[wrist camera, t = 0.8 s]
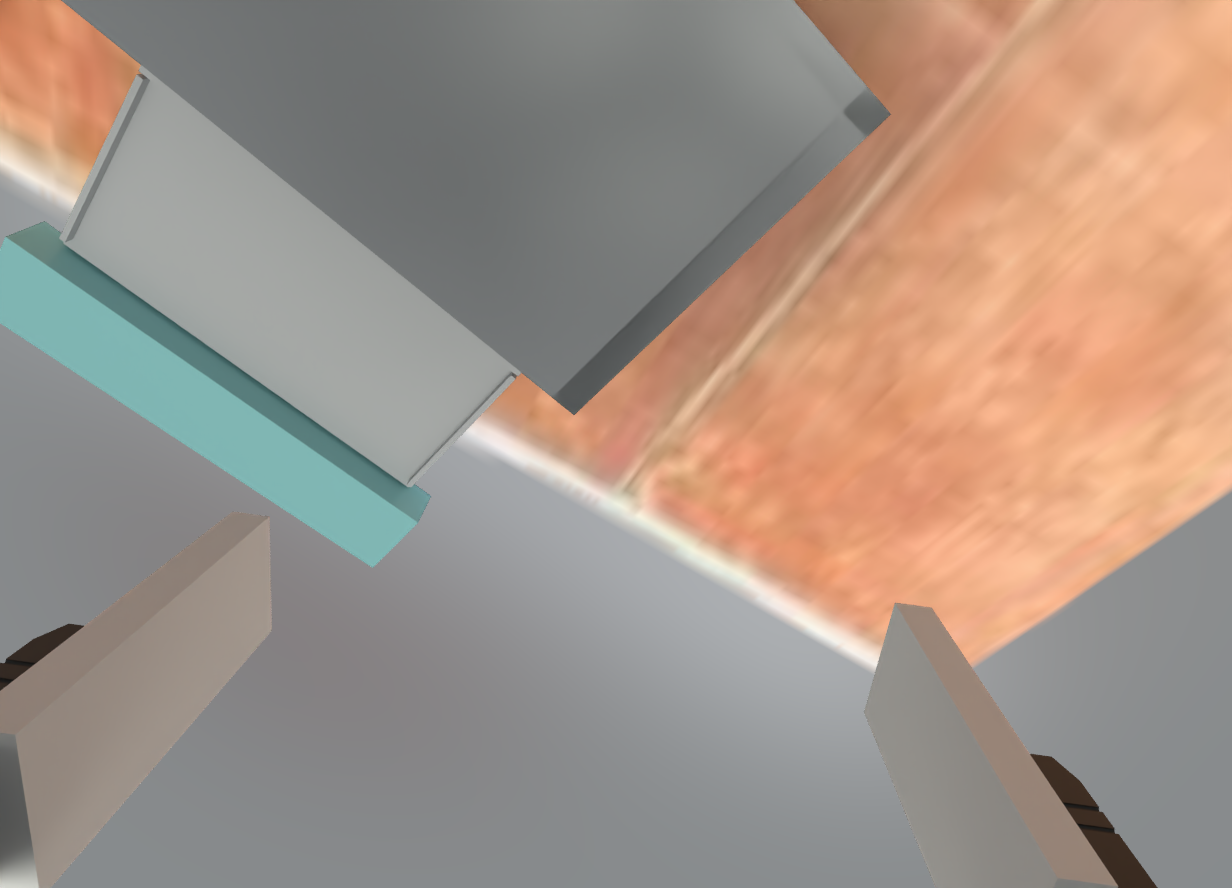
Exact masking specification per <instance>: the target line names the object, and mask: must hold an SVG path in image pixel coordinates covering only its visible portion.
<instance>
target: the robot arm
mask: <svg viewBox="0 0 1232 888" xmlns="http://www.w3.org/2000/svg"><path fill="white" fill-rule="evenodd" d="M270 574H271V573H270V525H269V517H268V516H261V515H253V514H246V513H239V512H232V513H230V514H229V515H228V516H227V517H225V518H224V519H223V520H221V521H220V522H219V523H218V524H216V525H215V526H214V527H213V528H211V529H210V530H208V531H207V532H206V533H205V534H203V535H202V536H201V537H199V538H198V539H197V540H195V541H194V542H193V543H192V544H190V545H189V546H188V547H186V548H185V549H184V550H182V551H181V552H180V553H179V554H177V555H176V556H175V557H173V558H172V559H171V560H169V561H168V562H167V563H166V564H164V565H163V566H162V567H160V568H159V569H158V570H157V571H155V572H154V573H153V574H151V575H150V576H149V577H147V578H146V579H145V580H144V581H142V582H141V583H140V584H138V585H137V586H136V587H134V588H133V589H132V590H131V591H129V592H128V593H127V594H125V595H124V596H123V597H122V598H120V599H119V600H118V601H116V602H115V603H114V604H113V605H111V606H110V607H109V608H107V609H106V610H105V611H103V612H102V613H101V614H99V615H98V616H97V617H96V618H94V619H93V620H92V621H90V622H89V623H88V624H87V625H85V626H81V625H74V624H67V625H65V626H63V627H60V628H58V629H56V630H53V631H51V632H49V633H47V634H44V635H42V636H40V637H37V638H35V639H33V640H32V641H30V642H29V643H28V644H26V645H25V646H24V647H22V648H21V649H19V650H18V651H16V652H15V653H14V654H12V655H11V656H10V657H8V658H7V659H6V662H5V663H0V888H51V887H52V885H53V884H54V883H55V882H56V881H57V880H58V879H59V877H60V876H61V875H62V874H63V873H64V872H65V870H66V869H67V868H68V867H69V866H70V865H71V863H72V862H73V861H74V860H75V859H76V858H77V856H78V855H79V854H80V853H81V852H82V851H83V849H84V848H85V847H86V846H87V845H88V844H89V843H90V841H91V840H92V839H93V838H94V837H95V835H96V834H97V833H98V832H99V831H100V830H101V829H102V827H103V826H104V825H105V824H106V823H107V822H108V820H109V819H110V818H111V817H112V816H113V815H114V813H115V812H116V811H117V810H118V809H119V808H120V806H121V805H122V804H123V803H124V802H125V801H126V799H127V798H128V797H129V796H130V795H131V794H132V792H133V791H134V790H135V789H136V788H137V787H138V786H139V784H140V783H141V782H142V781H143V780H144V779H145V777H146V776H147V775H148V774H149V773H150V772H151V770H152V769H153V768H154V767H155V766H156V765H157V763H158V762H159V761H160V760H161V759H162V758H163V756H164V755H165V754H166V753H167V752H168V751H169V749H170V748H171V747H172V746H173V745H174V743H175V742H176V741H177V740H178V739H179V738H180V737H181V735H182V734H183V733H184V732H185V731H186V730H187V729H188V727H189V726H190V725H191V724H192V723H193V722H194V720H195V719H196V718H197V717H198V716H199V715H200V713H201V712H202V711H203V710H204V709H205V708H206V706H207V705H208V704H209V703H210V702H211V701H212V699H213V698H214V697H215V696H216V695H217V694H218V692H219V691H220V690H221V689H222V688H223V687H224V685H225V684H226V683H227V682H228V681H229V680H230V678H231V677H232V676H233V675H234V674H235V673H236V672H237V670H238V669H239V668H240V667H241V666H242V665H243V663H244V662H245V661H246V660H247V659H248V657H249V656H250V655H251V654H252V653H253V652H254V650H255V649H256V648H257V647H258V646H259V645H260V644H261V642H262V641H263V640H264V639H265V638H266V637H267V635H268V634H269V633H270V632H271V631H272V622H271V575H270ZM864 713H865V716H866V718H867V721H868V723H869V726H870V728H871V730H872V733H873V735H874V738H875V740H876V743H877V745H878V747H879V750H880V752H881V755H882V757H883V760H884V762H885V765H886V767H887V770H888V772H889V775H890V777H891V779H892V782H893V784H894V787H895V789H896V792H897V794H898V797H899V799H900V802H901V804H902V807H903V809H904V811H905V814H906V816H907V819H908V821H909V824H910V826H911V829H912V831H913V834H914V836H915V838H916V841H917V843H918V846H919V848H920V851H921V853H922V856H923V858H924V861H925V863H926V865H927V868H928V870H929V873H930V875H931V878H932V880H933V882H934V885H935V887H936V888H1157V887H1156V885H1155V884H1154V882H1153V881H1152V880H1151V878H1150V877H1149V876H1148V874H1147V873H1146V871H1145V870H1144V869H1143V867H1142V866H1141V864H1140V863H1139V862H1138V860H1137V859H1136V858H1135V856H1134V855H1133V854H1132V852H1131V851H1130V849H1129V848H1128V847H1127V845H1126V844H1125V842H1124V841H1123V840H1122V838H1121V837H1120V835H1119V834H1115V832H1114V827H1113V826H1112V825H1111V823H1110V822H1109V821H1108V819H1107V818H1106V816H1105V815H1104V813H1103V812H1099V807H1098V805H1097V804H1096V802H1095V801H1094V800H1093V798H1092V797H1091V796H1090V794H1089V793H1088V792H1087V790H1086V789H1085V787H1084V786H1083V784H1082V783H1081V782H1080V781H1079V780H1078V779H1077V778H1076V777H1075V776H1074V775H1072V774H1071V773H1070V772H1069V771H1068V770H1066V769H1065V768H1064V767H1063V766H1062V765H1061V764H1059V763H1058V762H1057V761H1056V760H1055V759H1054V758H1052V757H1049V756H1042V755H1035V754H1029V752H1028V751H1027V749H1026V748H1025V746H1024V745H1023V743H1022V742H1021V741H1020V739H1019V737H1018V736H1017V734H1016V733H1015V732H1014V730H1013V728H1012V727H1011V725H1010V724H1009V722H1008V721H1007V719H1006V718H1005V716H1004V715H1003V714H1002V712H1001V711H1000V709H999V707H998V706H997V705H996V703H995V702H994V700H993V699H992V697H991V696H990V694H989V693H988V691H987V690H986V688H985V687H984V685H983V684H982V682H981V681H980V679H979V678H978V676H977V675H976V673H975V672H974V671H973V669H972V667H971V666H970V664H969V663H968V661H967V660H966V658H965V657H964V655H963V654H962V652H961V651H960V649H959V648H958V646H957V645H956V643H955V642H954V640H953V639H952V637H951V636H950V634H949V633H948V631H947V630H946V628H945V627H944V625H943V624H942V622H941V621H940V620H939V618H938V617H937V615H936V614H935V612H934V611H933V609H932V608H930V607H923V606H915V605H908V604H901V603H895V605H894V608H893V612H892V615H891V619H890V622H889V626H888V629H887V633H886V636H885V640H884V643H883V647H882V650H881V654H880V657H879V661H878V665H877V668H876V672H875V675H874V679H873V682H872V686H871V690H870V693H869V696H868V700H867V704H866V707H865V710H864Z"/></svg>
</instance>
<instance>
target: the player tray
mask: <svg viewBox="0 0 1232 888" xmlns="http://www.w3.org/2000/svg"><path fill="white" fill-rule="evenodd" d="M139 72H141V73H142V74H137V75H136V77H135V79H134V81H133V83H132V86H131V88H130V90H129V92H128V94H127V96H126V98H125V100H124V102H123V104H122V107H121V109H120V111H119V113H118V115H117V117H116V119H115V121H114V123H113V126H112V128H111V130H110V132H109V134H108V136H107V138H106V140H105V142H104V145H103V147H102V149H101V151H100V153H99V155H98V157H97V159H96V161H95V164H94V166H93V168H92V170H91V172H90V174H89V176H88V178H87V180H86V183H85V185H84V187H83V189H82V191H81V193H80V195H79V197H78V199H77V202H76V204H75V206H74V208H73V210H72V212H71V214H70V216H69V218H68V221H67V223H66V225H65V227H64V229H63V231H62V233H60V232H59V231H57V230H56V229H55V228H53V227H52V226H50V225H49V224H48V223H46V222H45V221H44V222H42V223H39V224H36V225H34V226H32V227H29V228H26V229H24V230H21V231H19V232H17V233H14V234H11V235H9V236H6V237H5V239H4V242H3V244H2V246H1V249H0V323H1V324H2V325H4V326H5V327H7V328H8V329H10V330H11V331H13V332H14V333H16V334H17V335H19V336H20V337H22V338H23V339H25V340H27V341H28V342H30V343H31V344H32V345H34V346H36V347H37V348H39V349H40V350H42V351H43V352H45V353H46V354H48V355H49V356H51V357H53V358H54V359H55V360H57V361H58V362H60V363H61V364H63V365H65V366H66V367H68V368H69V369H71V370H72V371H74V372H75V373H77V374H78V375H80V376H81V377H83V378H85V379H86V380H88V381H89V382H90V383H92V384H93V385H95V386H96V387H98V388H100V389H101V390H103V391H104V392H106V393H107V394H109V395H111V396H112V397H113V398H115V399H116V400H118V401H119V402H121V403H122V404H124V405H126V406H127V407H128V408H130V409H132V410H133V411H135V412H136V413H138V414H139V415H141V416H142V417H144V418H145V419H147V420H148V421H150V422H151V423H153V424H154V425H156V426H157V427H159V428H161V429H162V430H164V431H165V432H167V433H168V434H170V435H171V436H173V437H174V438H176V439H177V440H179V441H180V442H182V443H184V444H185V445H186V446H188V447H189V448H191V449H193V450H194V451H196V452H197V453H199V454H200V455H202V456H203V457H205V458H206V459H208V460H209V461H211V462H212V463H214V464H215V465H217V466H218V467H220V468H221V469H223V470H225V471H226V472H228V473H229V474H231V475H232V476H234V477H235V478H237V479H238V480H240V481H241V482H243V483H244V484H246V485H248V486H249V487H250V488H252V489H253V490H255V491H257V492H258V493H260V494H261V495H263V496H264V497H266V498H267V499H269V500H270V501H272V502H273V503H275V504H276V505H278V506H279V507H281V508H282V509H284V510H285V511H287V512H289V513H290V514H292V515H293V516H295V517H296V518H298V519H299V520H301V521H302V522H304V523H305V524H307V525H308V526H310V527H311V528H313V529H314V530H316V531H318V532H319V533H321V534H322V535H324V536H325V537H327V538H328V539H330V540H331V541H333V542H334V543H336V544H337V545H339V546H340V547H342V548H343V549H345V550H346V551H348V552H349V553H351V554H353V555H354V556H356V557H357V558H359V559H360V560H362V561H363V562H365V563H366V564H368V565H369V566H371V567H374V566H375V565H376V564H377V563H378V562H379V561H380V560H381V559H382V558H383V557H384V556H385V555H386V554H387V553H388V552H389V551H390V550H391V549H392V548H393V547H394V546H395V545H396V544H397V543H398V542H399V541H400V540H401V539H402V538H403V537H404V536H405V535H406V534H407V533H408V532H409V531H410V530H411V529H412V528H413V527H414V526H415V525H416V524H417V523H418V522H419V520H420V518H421V516H422V514H423V512H424V510H425V507H426V506H427V504H428V501H429V499H430V497H431V496H430V495H429V494H427V493H426V492H425V491H423V490H422V489H420V488H419V487H418V486H416V485H415V483H416V482H417V481H418V480H419V479H420V478H421V477H422V475H424V473H425V472H426V471H427V470H428V469H429V468H430V467H431V466H432V465H433V464H434V463H435V462H436V461H437V460H438V459H439V458H440V457H441V456H442V455H443V454H444V453H445V452H446V451H447V450H448V449H449V448H450V446H451V445H452V444H453V443H454V442H455V441H456V440H457V439H458V438H459V437H460V436H461V435H462V434H463V433H464V432H465V431H466V430H467V429H468V428H469V427H470V426H471V425H472V424H473V423H474V422H475V421H476V420H477V418H478V417H479V416H480V415H481V414H482V413H483V412H484V411H485V410H486V409H487V408H488V407H489V406H490V405H491V404H492V403H493V402H494V401H495V400H496V399H497V398H498V397H499V396H500V395H501V394H502V393H503V391H504V390H505V389H506V388H507V387H508V386H509V385H510V384H511V383H512V382H513V381H514V380H515V379H516V377H517V376H519V375H520V374H521V372H520V371H519V370H518V369H516V368H515V367H514V366H513V365H511V364H510V363H509V362H508V361H506V360H505V359H504V358H503V357H501V356H500V355H499V354H498V353H497V352H495V351H494V350H493V349H492V348H490V347H489V346H488V345H487V344H485V343H484V342H483V341H482V340H480V339H479V338H478V337H477V336H476V335H474V334H473V333H472V332H471V331H469V330H468V329H467V328H466V327H464V326H463V325H462V324H461V323H459V322H458V321H457V320H456V319H455V318H453V317H452V316H451V315H450V314H448V313H447V312H446V311H445V310H443V309H442V308H441V307H440V306H438V305H437V304H436V303H435V302H434V301H432V300H431V299H430V298H429V297H427V296H426V295H425V294H424V293H422V292H421V291H420V290H419V289H417V288H416V287H415V286H414V285H413V284H411V283H410V282H409V281H408V280H406V279H405V278H404V277H403V276H401V275H400V274H399V273H398V272H396V271H395V270H394V269H393V268H392V267H390V266H389V265H388V264H387V263H385V262H384V261H383V260H382V259H380V258H379V257H378V256H377V255H375V254H374V253H373V252H372V251H370V250H369V249H368V248H367V247H366V246H364V245H363V244H362V243H361V242H359V241H358V240H357V239H356V238H354V237H353V236H352V235H351V234H349V233H348V232H347V231H346V230H345V229H343V228H342V227H341V226H340V225H338V224H337V223H336V222H335V221H333V220H332V219H331V218H330V217H328V216H327V215H326V214H325V213H324V212H322V211H321V210H320V209H319V208H317V207H316V206H315V205H314V204H312V203H311V202H310V201H309V200H307V199H306V198H305V197H304V196H303V195H301V194H300V193H299V192H298V191H296V190H295V189H294V188H293V187H291V186H290V185H289V184H288V183H286V182H285V181H284V180H283V179H282V178H280V177H279V176H278V175H277V174H275V173H274V172H273V171H272V170H270V169H269V168H268V167H267V166H265V165H264V164H263V163H262V162H261V161H259V160H258V159H257V158H256V157H254V156H253V155H252V154H251V153H249V152H248V151H247V150H246V149H244V148H243V147H242V146H241V145H240V144H238V143H237V142H236V141H235V140H233V139H232V138H231V137H230V136H228V135H227V134H226V133H225V132H223V131H222V130H221V129H220V128H218V127H217V126H216V125H215V124H214V123H212V122H211V121H210V120H209V119H207V118H206V117H205V116H204V115H202V114H201V113H200V112H199V111H197V110H196V109H195V108H194V107H193V106H191V105H190V104H189V103H188V102H186V101H185V100H184V99H183V98H181V97H180V96H179V95H178V94H176V93H175V92H174V91H173V90H172V89H170V88H169V87H168V86H167V85H165V84H164V83H163V82H162V81H160V80H159V79H158V78H157V77H155V76H154V75H153V74H152V73H151V72H149V71H148V70H147V69H146V68H144V67H143V66H142V65H141V67H140V69H139Z"/></svg>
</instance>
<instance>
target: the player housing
mask: <svg viewBox="0 0 1232 888" xmlns="http://www.w3.org/2000/svg"><path fill="white" fill-rule="evenodd" d="M62 1H63V2H64V3H65V4H67V5H68V6H69V7H70V8H71V9H73V10H74V11H75V12H76V13H78V14H79V15H80V16H81V17H83V18H84V19H85V20H86V21H88V22H89V23H90V24H91V25H92V26H94V27H95V28H96V29H97V30H99V31H100V32H101V33H102V34H104V35H105V36H106V37H107V38H109V39H110V40H111V41H112V42H113V43H115V44H116V45H117V46H118V47H120V48H121V49H122V50H123V51H125V52H126V53H127V54H128V55H130V56H131V57H132V58H133V59H134V60H136V61H137V62H138V63H139V64H141V65H142V66H143V67H144V68H146V69H147V70H148V71H149V72H151V73H152V74H153V75H154V76H155V77H157V78H158V79H159V80H160V81H162V82H163V83H164V84H165V85H167V86H168V87H169V88H170V89H172V90H173V91H174V92H175V93H176V94H178V95H179V96H180V97H181V98H183V99H184V100H185V101H186V102H188V103H189V104H190V105H191V106H193V107H194V108H195V109H196V110H197V111H199V112H200V113H201V114H202V115H204V116H205V117H206V118H207V119H209V120H210V121H211V122H212V123H214V124H215V125H216V126H217V127H218V128H220V129H221V130H222V131H223V132H225V133H226V134H227V135H228V136H230V137H231V138H232V139H233V140H235V141H236V142H237V143H238V144H240V145H241V146H242V147H243V148H244V149H246V150H247V151H248V152H249V153H251V154H252V155H253V156H254V157H256V158H257V159H258V160H259V161H261V162H262V163H263V164H264V165H265V166H267V167H268V168H269V169H270V170H272V171H273V172H274V173H275V174H277V175H278V176H279V177H280V178H282V179H283V180H284V181H285V182H286V183H288V184H289V185H290V186H291V187H293V188H294V189H295V190H296V191H298V192H299V193H300V194H301V195H303V196H304V197H305V198H306V199H307V200H309V201H310V202H311V203H312V204H314V205H315V206H316V207H317V208H319V209H320V210H321V211H322V212H324V213H325V214H326V215H327V216H328V217H330V218H331V219H332V220H333V221H335V222H336V223H337V224H338V225H340V226H341V227H342V228H343V229H345V230H346V231H347V232H348V233H349V234H351V235H352V236H353V237H354V238H356V239H357V240H358V241H359V242H361V243H362V244H363V245H364V246H366V247H367V248H368V249H369V250H370V251H372V252H373V253H374V254H375V255H377V256H378V257H379V258H380V259H382V260H383V261H384V262H385V263H387V264H388V265H389V266H390V267H392V268H393V269H394V270H395V271H396V272H398V273H399V274H400V275H401V276H403V277H404V278H405V279H406V280H408V281H409V282H410V283H411V284H413V285H414V286H415V287H416V288H417V289H419V290H420V291H421V292H422V293H424V294H425V295H426V296H427V297H429V298H430V299H431V300H432V301H434V302H435V303H436V304H437V305H438V306H440V307H441V308H442V309H443V310H445V311H446V312H447V313H448V314H450V315H451V316H452V317H453V318H455V319H456V320H457V321H458V322H459V323H461V324H462V325H463V326H464V327H466V328H467V329H468V330H469V331H471V332H472V333H473V334H474V335H476V336H477V337H478V338H479V339H480V340H482V341H483V342H484V343H485V344H487V345H488V346H489V347H490V348H492V349H493V350H494V351H495V352H497V353H498V354H499V355H500V356H501V357H503V358H504V359H505V360H506V361H508V362H509V363H510V364H511V365H513V366H514V367H515V368H516V369H518V370H519V371H520V372H521V373H522V374H524V375H525V376H526V377H527V378H529V379H530V380H531V381H532V382H534V383H535V384H536V385H537V386H539V387H540V388H541V389H542V390H544V391H545V392H546V393H547V394H548V395H550V396H551V397H552V398H553V399H555V400H556V401H557V402H558V403H560V404H561V405H562V406H563V407H565V408H566V409H567V410H568V411H569V412H571V413H572V414H573V415H575V414H576V413H577V412H578V411H579V410H580V409H581V408H582V407H583V406H584V405H585V404H586V403H587V402H588V401H589V400H590V399H592V398H593V397H594V396H595V395H596V394H597V393H598V392H599V391H600V390H601V389H602V388H603V387H604V386H605V385H606V384H607V383H608V382H609V381H610V380H612V379H613V378H614V377H615V376H616V375H617V374H618V373H619V372H620V371H621V370H622V369H623V368H624V367H625V366H626V365H627V364H628V363H629V362H630V361H632V360H633V359H634V358H635V357H636V356H637V355H638V354H639V353H640V352H641V351H642V350H643V349H644V348H645V347H646V346H647V345H648V344H649V343H650V342H652V341H653V340H654V339H655V338H656V337H657V336H658V335H659V334H660V333H661V332H662V331H663V330H664V329H665V328H666V327H667V326H668V325H669V324H671V323H672V322H673V321H674V320H675V319H676V318H677V317H678V316H679V315H680V314H681V313H682V312H683V311H684V310H685V309H686V308H687V307H688V306H689V305H691V304H692V303H693V302H694V301H695V300H696V299H697V298H698V297H699V296H700V295H701V294H702V293H703V292H704V291H705V290H706V289H707V288H708V287H709V286H711V285H712V284H713V283H714V282H715V281H716V280H717V279H718V278H719V277H720V276H721V275H722V274H723V273H724V272H725V271H726V270H727V269H728V268H729V267H731V266H732V265H733V264H734V263H735V262H736V261H737V260H738V259H739V258H740V257H741V256H742V255H743V254H744V253H745V252H746V251H747V250H748V249H749V248H751V247H752V246H753V245H754V244H755V243H756V242H757V241H758V240H759V239H760V238H761V237H762V236H763V235H764V234H765V233H766V232H767V231H768V230H769V229H771V228H772V227H773V226H774V225H775V224H776V223H777V222H778V221H779V220H780V219H781V218H782V217H783V216H784V215H785V214H786V213H787V212H788V211H789V210H791V209H792V208H793V207H794V206H795V205H796V204H797V203H798V202H799V201H800V200H801V199H802V198H803V197H804V196H805V195H806V194H807V193H808V192H809V191H811V190H812V189H813V188H814V187H815V186H816V185H817V184H818V183H819V182H820V181H821V180H822V179H823V178H824V177H825V176H826V175H827V174H828V173H829V172H831V171H832V170H833V169H834V168H835V167H836V166H837V165H838V164H839V163H840V162H841V161H842V160H843V159H844V158H845V157H846V156H847V155H848V154H849V153H851V152H852V151H853V150H854V149H855V148H856V147H857V146H858V145H859V144H860V143H861V142H862V141H863V140H864V139H865V138H866V137H867V136H868V135H869V134H871V133H872V132H873V131H874V130H875V129H876V128H877V127H878V126H879V125H880V124H881V123H882V122H883V121H884V120H885V119H886V118H887V117H888V116H890V115H891V114H890V113H889V111H888V110H887V109H886V108H885V107H884V106H883V104H882V103H881V102H880V101H879V100H878V99H877V97H876V96H875V95H874V94H873V93H872V92H871V90H870V89H869V88H868V87H867V86H866V85H865V83H864V82H863V81H862V80H861V79H860V78H859V76H858V75H857V74H856V73H855V72H854V70H853V69H852V68H851V67H850V66H849V65H848V63H847V62H846V61H845V60H844V59H843V58H842V56H841V55H840V54H839V53H838V52H837V51H836V49H835V48H834V47H833V46H832V45H831V44H830V42H829V41H828V40H827V39H826V38H825V37H824V35H823V34H822V33H821V32H820V31H819V30H818V28H817V27H816V26H815V25H814V24H813V23H812V21H811V20H810V19H809V18H808V17H807V15H806V14H805V13H804V12H803V11H802V10H801V8H800V7H799V6H798V5H797V4H796V3H795V1H794V0H62Z"/></svg>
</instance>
